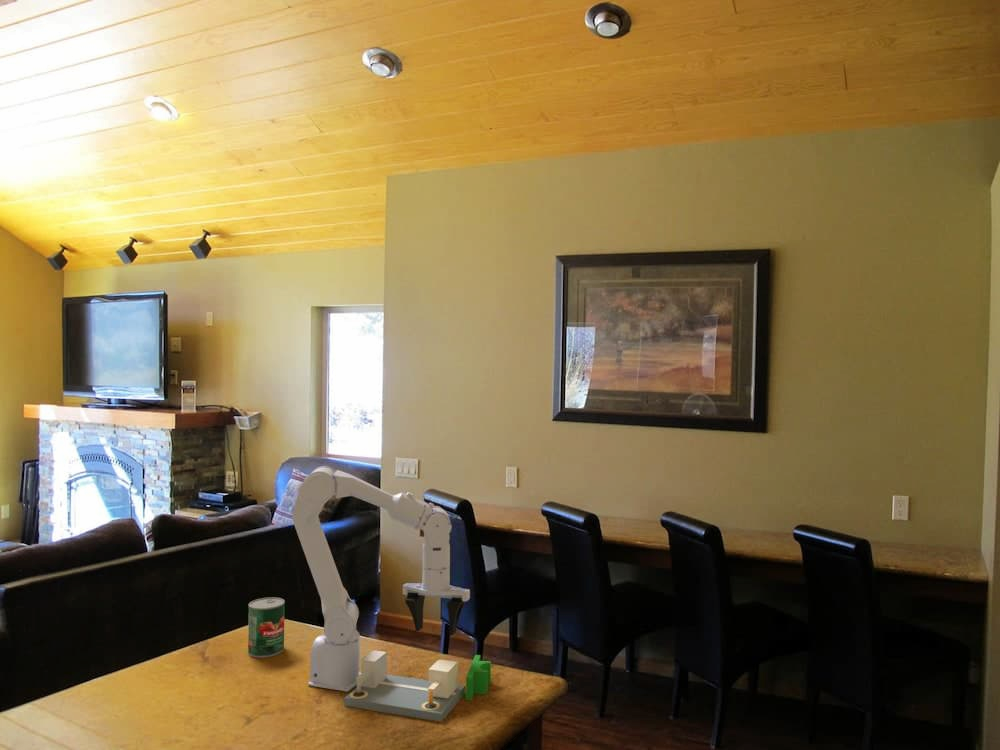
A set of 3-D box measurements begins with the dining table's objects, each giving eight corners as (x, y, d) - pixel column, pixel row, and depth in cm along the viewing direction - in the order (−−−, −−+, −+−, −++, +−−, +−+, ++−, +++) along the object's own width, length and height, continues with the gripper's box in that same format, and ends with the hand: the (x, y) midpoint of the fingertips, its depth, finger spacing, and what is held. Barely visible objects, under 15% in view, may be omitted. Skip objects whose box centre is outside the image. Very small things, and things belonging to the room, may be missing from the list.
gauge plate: (344, 705, 129) (344, 670, 129) (374, 679, 140) (374, 647, 140) (441, 722, 123) (441, 684, 123) (464, 693, 134) (465, 659, 134)
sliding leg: (419, 704, 126) (420, 677, 126) (438, 684, 134) (438, 659, 134) (439, 707, 125) (440, 680, 125) (457, 687, 133) (457, 661, 133)
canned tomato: (271, 659, 151) (272, 609, 151) (240, 655, 153) (241, 606, 153) (290, 645, 158) (291, 598, 159) (260, 642, 160) (261, 596, 160)
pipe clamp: (484, 702, 131) (484, 678, 131) (465, 701, 132) (465, 677, 132) (492, 677, 142) (492, 655, 142) (475, 676, 143) (475, 654, 143)
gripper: (475, 564, 144) (474, 629, 144) (413, 558, 149) (412, 621, 148) (462, 573, 137) (462, 640, 137) (398, 567, 142) (397, 632, 142)
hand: (435, 631), depth 142 cm, fingers open, 7 cm apart
